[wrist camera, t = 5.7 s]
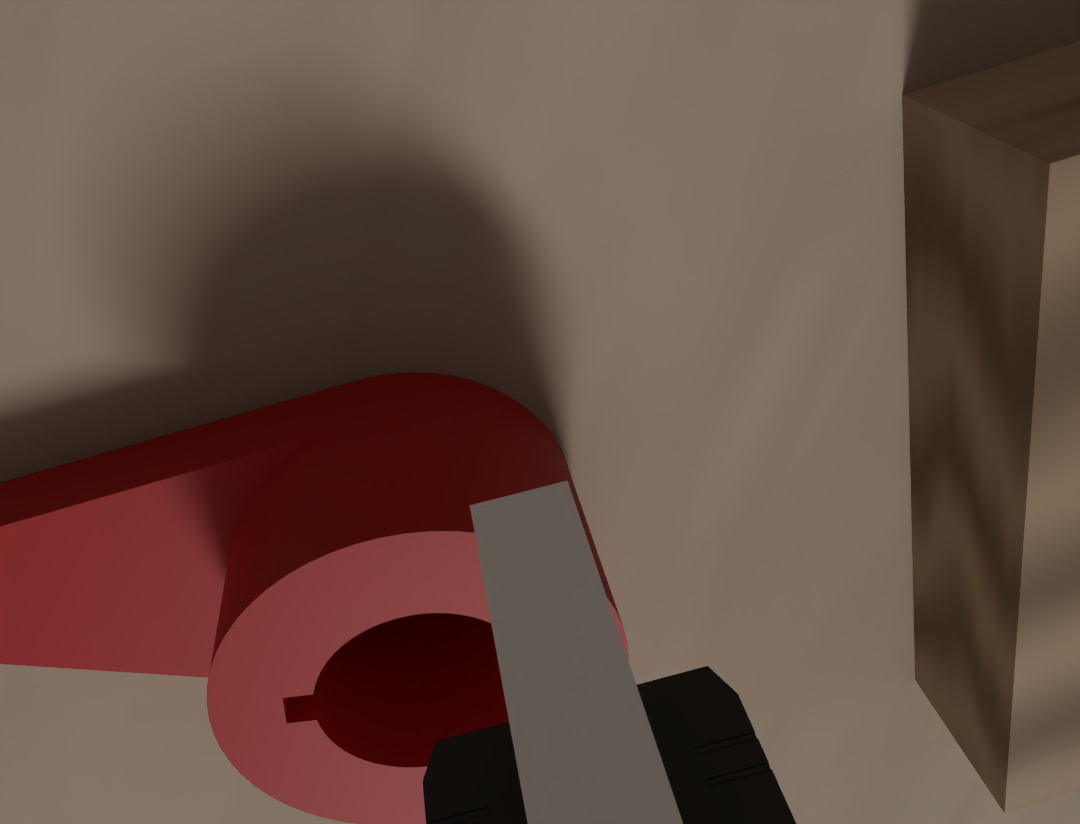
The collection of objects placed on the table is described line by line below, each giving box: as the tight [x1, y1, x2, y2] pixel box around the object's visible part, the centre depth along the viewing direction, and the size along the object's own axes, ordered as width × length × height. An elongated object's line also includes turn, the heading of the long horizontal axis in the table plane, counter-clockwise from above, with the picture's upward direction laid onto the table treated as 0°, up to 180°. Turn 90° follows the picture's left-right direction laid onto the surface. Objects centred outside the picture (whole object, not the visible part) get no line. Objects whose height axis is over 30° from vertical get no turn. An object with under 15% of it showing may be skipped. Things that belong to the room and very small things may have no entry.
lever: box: [0, 373, 629, 824], centre depth 23 cm, size 18×9×7 cm, turn 88°
